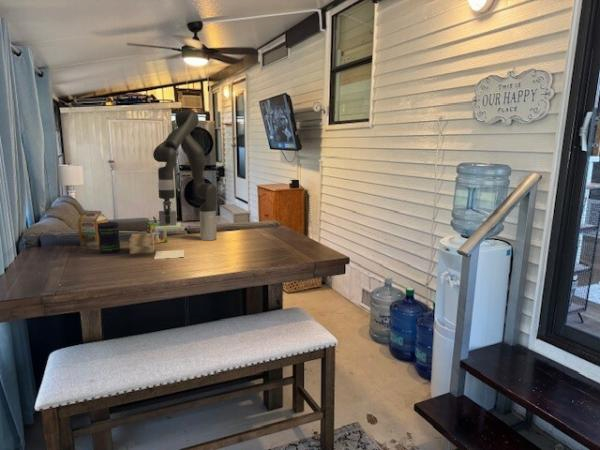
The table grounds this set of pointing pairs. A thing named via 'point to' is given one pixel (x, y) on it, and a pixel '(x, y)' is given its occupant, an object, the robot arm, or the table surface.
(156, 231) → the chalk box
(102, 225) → the dark blue cylinder
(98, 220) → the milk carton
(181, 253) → the mat
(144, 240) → the box
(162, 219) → the lid
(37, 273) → the table surface
